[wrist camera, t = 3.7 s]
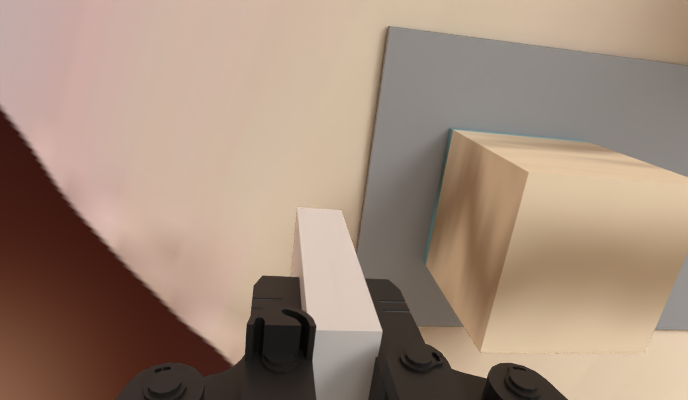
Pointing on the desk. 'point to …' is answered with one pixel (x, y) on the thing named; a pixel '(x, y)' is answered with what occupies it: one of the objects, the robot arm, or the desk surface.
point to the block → (555, 243)
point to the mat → (504, 117)
